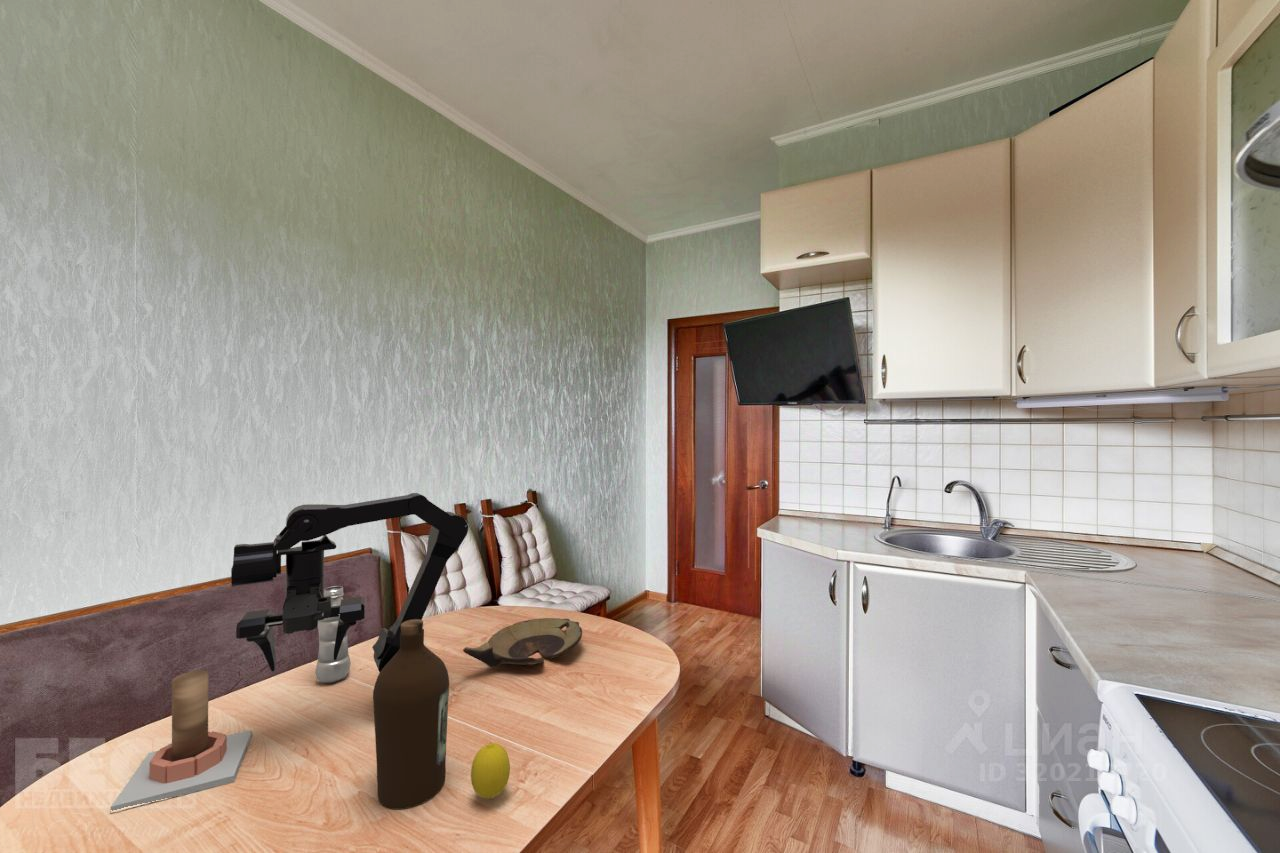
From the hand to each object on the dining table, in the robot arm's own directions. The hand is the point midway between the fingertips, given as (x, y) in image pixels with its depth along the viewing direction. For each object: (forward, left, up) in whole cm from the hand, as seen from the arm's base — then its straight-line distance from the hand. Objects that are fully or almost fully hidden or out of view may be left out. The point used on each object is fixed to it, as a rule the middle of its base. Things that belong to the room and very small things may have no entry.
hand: (305, 664), depth 91 cm
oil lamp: (-43, -14, -13) cm, 47 cm away
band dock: (+15, +1, -13) cm, 20 cm away
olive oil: (-16, +23, -13) cm, 31 cm away
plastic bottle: (-3, -23, -13) cm, 27 cm away
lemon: (-26, +31, -13) cm, 43 cm away
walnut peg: (+15, +1, -12) cm, 20 cm away
